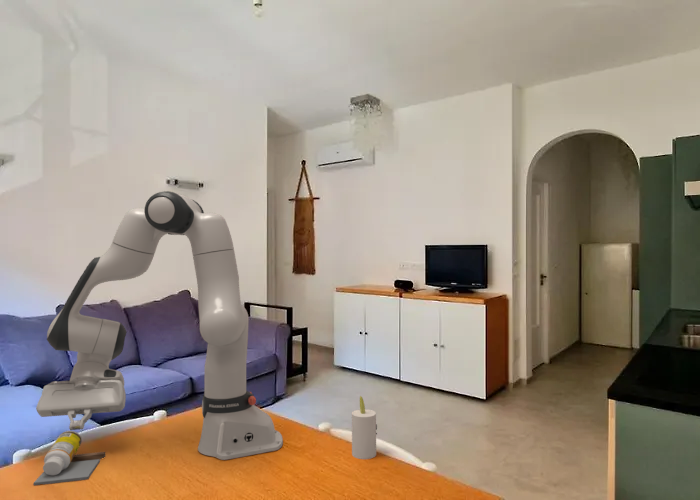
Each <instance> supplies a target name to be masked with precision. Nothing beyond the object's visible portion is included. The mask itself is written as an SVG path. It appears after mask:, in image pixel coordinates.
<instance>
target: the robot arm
mask: <svg viewBox="0 0 700 500" xmlns="http://www.w3.org/2000/svg"><path fill="white" fill-rule="evenodd" d="M119 223H120V224H119V226H118V228H117V229H116V232H115V234H114V236H113V239H112V242H111V245H110V247H109V248H108V249H107V250H106V252H104V253H103V254H102V255H101V256H98V257H94V258H93V259H91V260H90V262H89V263H88V265H86V267H85V269H84V271H83V273H82V274H81V276H79V279H78V280H77V282H76V284H75V286H74V287H73V289H72V291H71V292H70V294H69V296H68V298H67V299H66V301H65V303H64V305H63V307H61V310H60V311H59V313H58V314H57V315H55V318H54V319H52V321H51V324H50V325H49V327H48V329H47V333H46V340H47V342H48V344H49V345H50V346H51V347H52V349H54V350H55V351H62V352H63V351H64V352H75V353H76V352H77V354H76V360H77V361H76V362H75V364H74V366H73V368H72V371H71V375H70V379H69V380H62V381H56V380H55V381H51V382H50V383H48V384H46V385H44V386H43V389H42V392H41V396H40V398H39V400H38V401H37V404H36V406H35V408H36V409H35V410H36V412H37V414H38V415H39V416H40V417H41V418H42V417H43V418H46V417H60V416H61V417H62V416H68V417H67V418H68V419H69V421H70V423H69V426H68V429H69V431H77V430H84V428H85V424H86V423H87V422H88V421H89V420H90V419H91V418H92V415H93V414H100V413H101V414H103V413H115V412H121V411H123V410H124V409H125V406H126V401H127V400H126V397H127V396H126V394H127V393H126V390H125V378H124V375H123V373H122V372H121V371H120V370H116V369H112V368H109V366H110V363H111V362H112V361H113V360H114V359H116V358H117V357H119V356H120V355H121V354H122V352H123V351H124V346H125V340H126V336H127V332H128V331H127V330H126V328H125V326H124V325H123V324H122V322H119V321H116V320H112V319H111V320H110V319H106V318H99V317H94V316H89V315H85V314H81V313H80V311H81V310H82V308H83V306H84V304H85V302H86V300H87V299H88V297H89V295H90V294H91V292H92V290H93V289H94V288H95V287H96V286H98V285H101V284H103V283H107V282H115V281H124V280H131V279H136V278H138V277H140V276H141V275H144V274H145V272H147V271H148V270H149V268H150V266H151V264H152V262H153V258H154V257H155V254H156V250H157V248H158V246H159V242H160V240H162V239H161V238H163V237H164V236H165V235H167V234H168V235H174V236H177V235H178V236H186V238H187V239H188V241H189V242H190V247H191V248H190V249H191V254H192V259H193V265H194V270H195V276H196V277H195V278H196V285H197V301H198V302H197V303H198V319H199V332H200V336H201V337H202V339H203V340H204V341H205V343H207V348H206V349H207V350H206V355H205V362H204V392H203V396H202V400H201V406H202V407H201V414H202V417H203V420H202V428H201V434H200V439H199V442H198V447H197V451H198V452H199V453H200V454H202V455H205V456H209V457H215V458H217V459H218V460H223V461H224V460H225V461H227V460H232V459H237V458H243V457H247V456H252V455H257V454H263V453H269V452H274V451H278V450H280V448H282V447H283V444H284V441H283V440H284V439H283V435H282V434H281V432H280V431H278V430H276V429H275V425H274V421H273V420H272V416H270V415H269V413H267V412H266V411H263V410H262V409H260V408H259V407H258V406H256V403H257V399H256V397H255V396H254V393H252V391H248V390H247V358H248V345H249V344H248V341H249V314H248V311H247V309H246V308H245V306H243V305H242V302H241V295H240V294H241V291H240V276H239V271H238V265H237V259H236V254H235V253H236V252H235V249H234V243H233V239H232V234H231V231H230V229H229V226H228V224H227V221H226V219H225V218H224V216H222V215H221V214H219V213H215V212H204V209H203V207H202V206H201V204H199V203H198V202H197V201H196V200H194V199H191V198H190V197H188V196H186V195H184V194H181V193H177V192H173V191H169V190H167V191H165V190H164V191H159V192H155V193H154V194H152V195H151V196H150V197H149V198H148V200H146V203H145V206H144V208H143V207H135V208H132V209H129V210H128V211H127V212H126V213H125V215H124V216H123V218H122V220H121V222H119ZM77 415H83V416H82V418H81V419H76V420H74V419H75V418H76V417H77Z"/></svg>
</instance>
